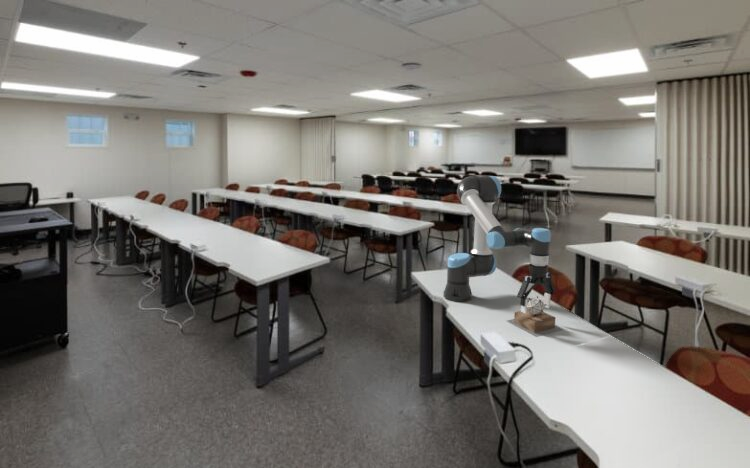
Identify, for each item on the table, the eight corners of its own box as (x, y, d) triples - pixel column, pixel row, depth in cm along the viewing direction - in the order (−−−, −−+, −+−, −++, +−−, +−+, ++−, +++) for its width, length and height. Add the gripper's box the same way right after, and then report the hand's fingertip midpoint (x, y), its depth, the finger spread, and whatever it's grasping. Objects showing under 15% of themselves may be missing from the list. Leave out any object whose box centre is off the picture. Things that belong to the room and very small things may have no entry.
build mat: (505, 321, 181) (505, 320, 181) (531, 315, 188) (531, 314, 188) (536, 337, 165) (536, 336, 165) (563, 330, 172) (563, 329, 172)
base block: (514, 322, 179) (514, 312, 178) (533, 317, 184) (534, 307, 183) (534, 333, 169) (535, 322, 168) (554, 327, 173) (555, 317, 172)
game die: (538, 323, 175) (550, 311, 168) (520, 316, 175) (531, 304, 168) (538, 308, 181) (550, 296, 174) (520, 301, 182) (531, 288, 174)
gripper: (523, 269, 162) (520, 317, 167) (566, 262, 172) (562, 308, 177) (510, 265, 169) (507, 311, 173) (552, 258, 179) (548, 302, 183)
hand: (535, 309), depth 175 cm, fingers open, 13 cm apart
